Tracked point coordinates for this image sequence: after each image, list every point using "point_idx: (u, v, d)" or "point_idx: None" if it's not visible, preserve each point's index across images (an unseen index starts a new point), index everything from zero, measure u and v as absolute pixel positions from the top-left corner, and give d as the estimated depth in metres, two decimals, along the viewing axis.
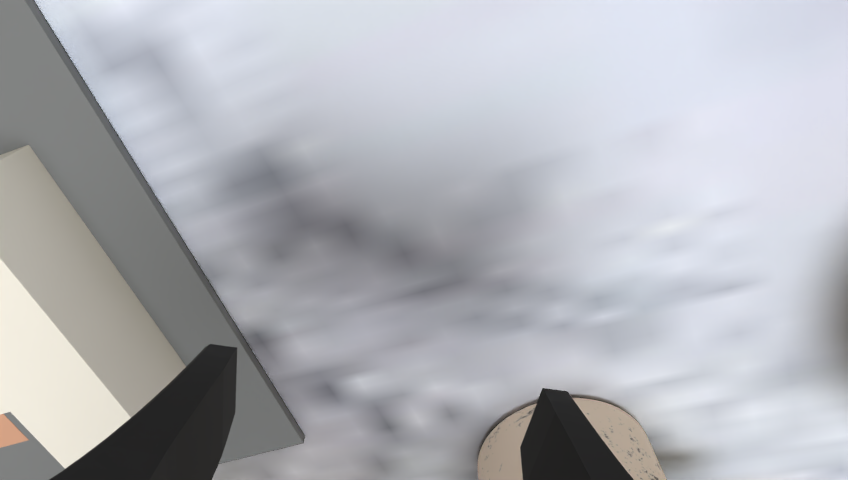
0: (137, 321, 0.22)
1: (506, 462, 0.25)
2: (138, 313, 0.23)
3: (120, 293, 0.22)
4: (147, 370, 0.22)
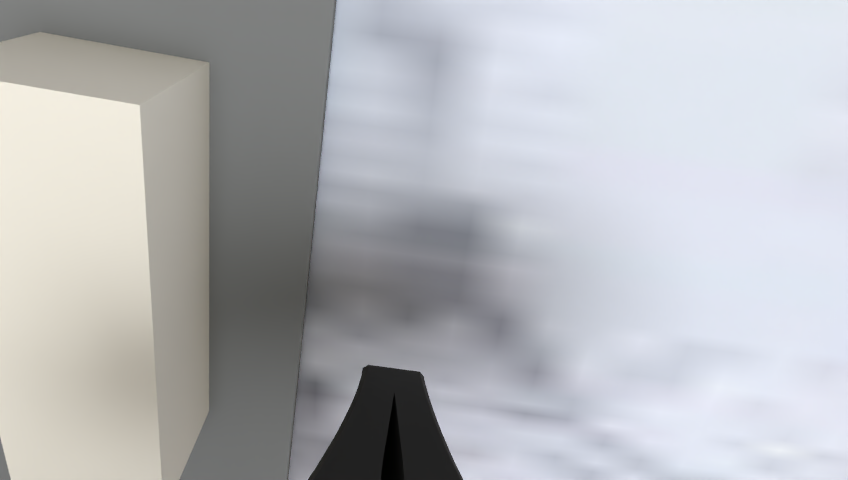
0: (200, 324, 0.17)
1: None
2: (204, 312, 0.17)
3: (202, 284, 0.16)
4: (187, 392, 0.16)
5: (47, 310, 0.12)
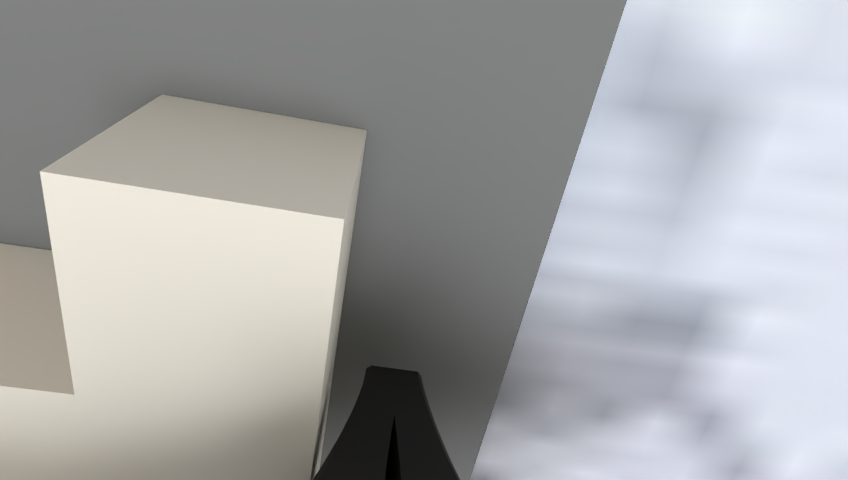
0: (324, 426, 0.14)
1: None
2: (326, 411, 0.14)
3: (330, 383, 0.14)
4: None
5: (183, 452, 0.10)
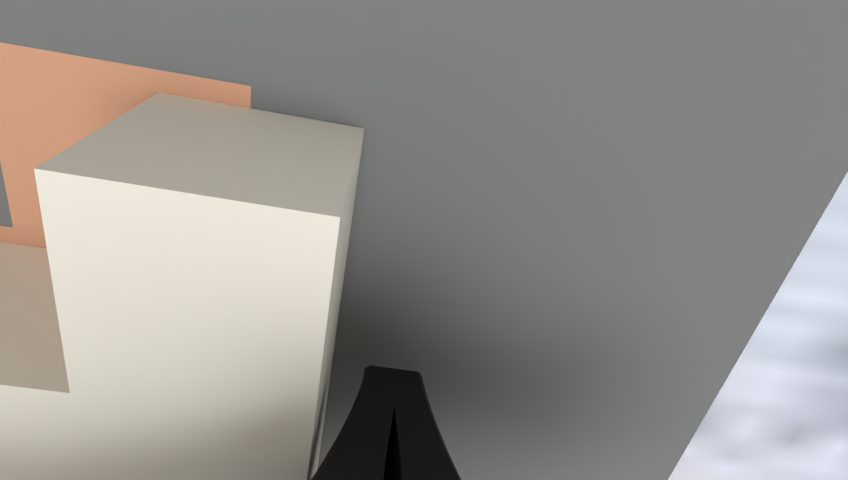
0: (322, 425, 0.14)
1: None
2: (324, 410, 0.14)
3: (328, 382, 0.14)
4: None
5: (179, 451, 0.10)
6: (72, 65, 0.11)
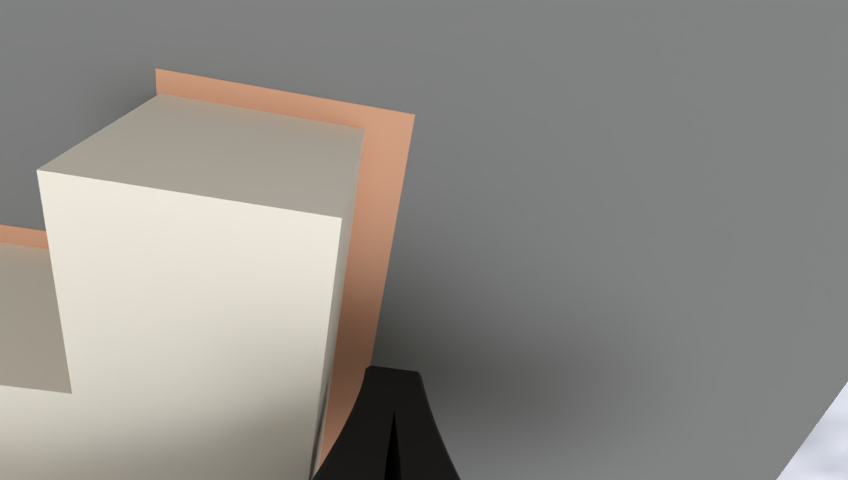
0: (323, 426, 0.14)
1: None
2: (325, 410, 0.14)
3: (329, 382, 0.14)
4: None
5: (181, 451, 0.10)
6: (244, 94, 0.11)
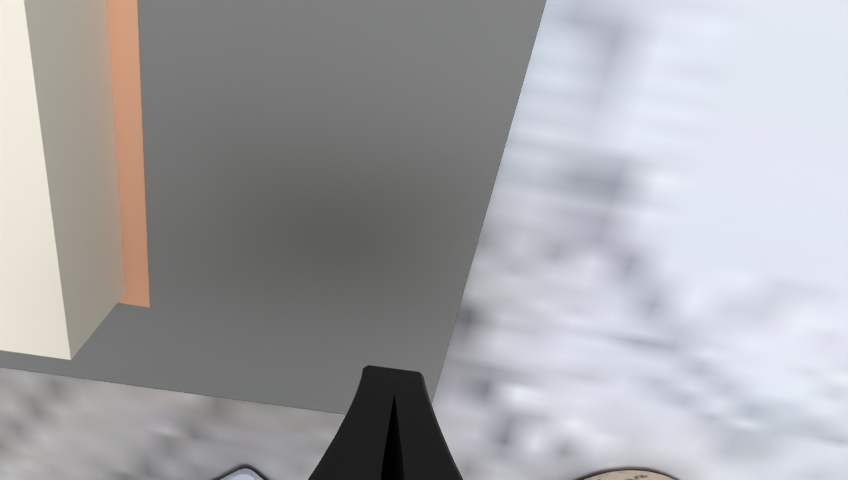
0: (108, 203, 0.20)
1: None
2: (112, 194, 0.20)
3: (107, 167, 0.19)
4: (94, 259, 0.19)
5: None
6: None
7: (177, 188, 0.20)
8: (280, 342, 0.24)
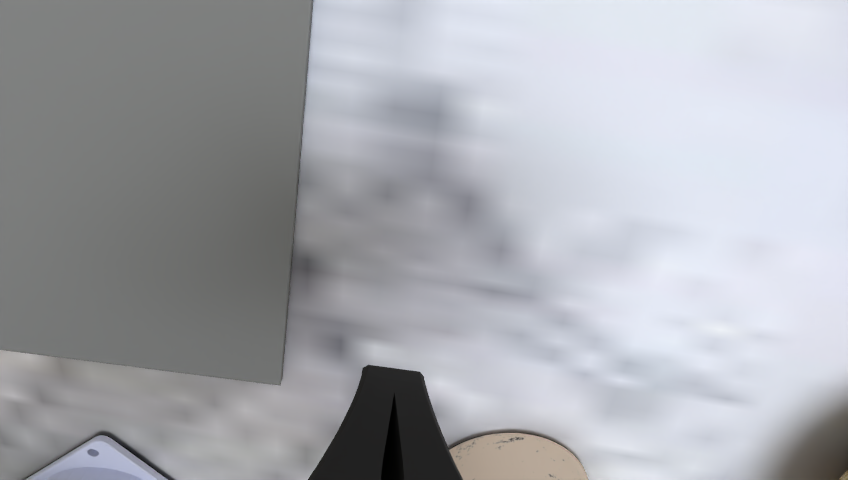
0: None
1: (480, 479, 0.25)
2: None
3: None
4: None
5: None
6: None
7: None
8: (108, 295, 0.22)
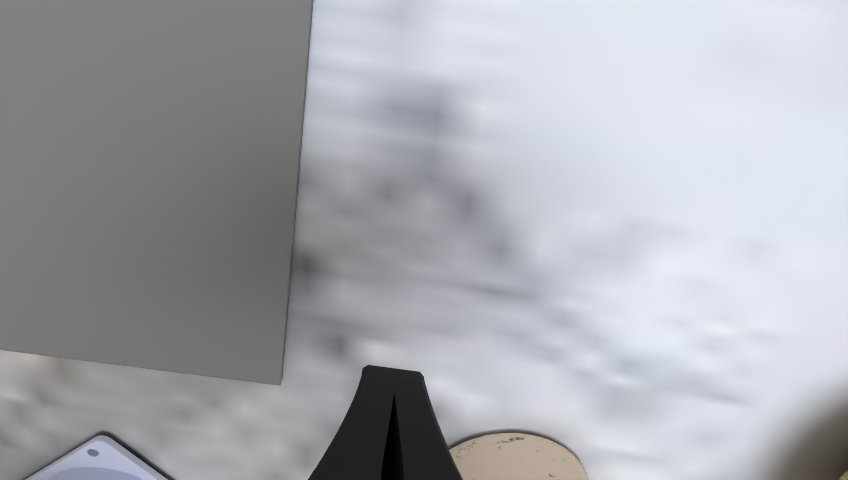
0: None
1: (480, 479, 0.25)
2: None
3: None
4: None
5: None
6: None
7: None
8: (108, 295, 0.22)
